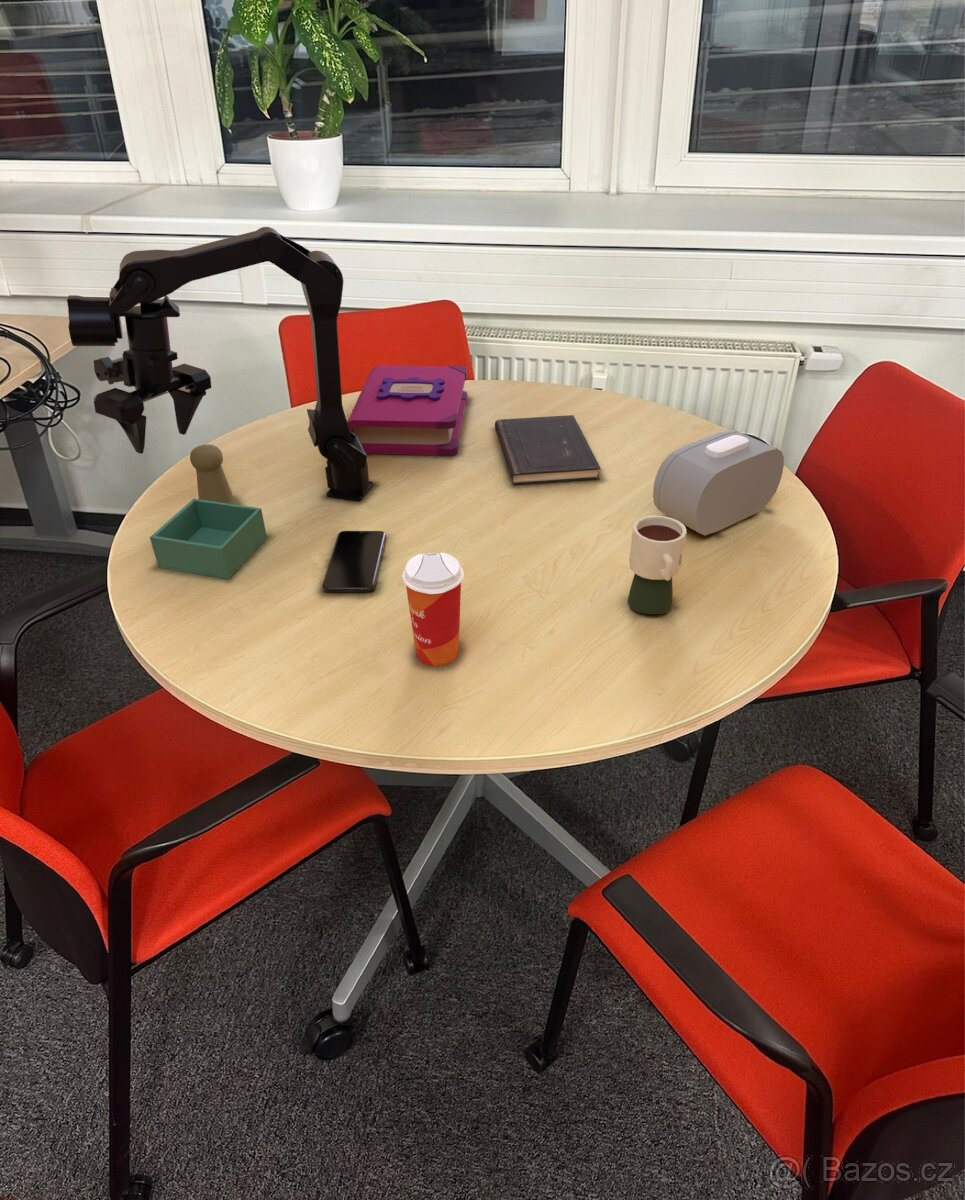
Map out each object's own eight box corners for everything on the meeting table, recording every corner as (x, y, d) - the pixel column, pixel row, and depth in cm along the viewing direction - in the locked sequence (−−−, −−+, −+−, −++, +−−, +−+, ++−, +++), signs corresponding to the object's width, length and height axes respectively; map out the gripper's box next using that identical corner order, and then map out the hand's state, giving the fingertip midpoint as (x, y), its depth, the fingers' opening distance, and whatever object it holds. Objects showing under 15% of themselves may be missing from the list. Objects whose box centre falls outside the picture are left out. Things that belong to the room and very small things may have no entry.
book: (347, 454, 158) (342, 416, 153) (372, 395, 180) (369, 361, 176) (456, 456, 157) (455, 419, 152) (468, 397, 179) (467, 363, 175)
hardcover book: (573, 425, 167) (573, 414, 166) (599, 479, 149) (600, 467, 148) (494, 430, 166) (494, 419, 164) (511, 485, 147) (511, 473, 146)
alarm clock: (730, 486, 146) (744, 415, 138) (774, 508, 140) (791, 435, 132) (647, 522, 137) (656, 448, 129) (690, 547, 131) (702, 471, 123)
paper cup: (408, 636, 114) (401, 551, 105) (464, 632, 114) (461, 547, 106) (409, 674, 107) (401, 586, 99) (468, 670, 108) (465, 583, 99)
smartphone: (374, 593, 122) (387, 534, 134) (374, 588, 121) (386, 530, 134) (321, 593, 122) (338, 534, 135) (320, 588, 121) (338, 529, 134)
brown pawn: (226, 516, 140) (212, 457, 133) (193, 513, 141) (178, 454, 134) (241, 499, 144) (229, 441, 138) (209, 496, 145) (196, 438, 139)
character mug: (686, 626, 115) (699, 547, 107) (636, 631, 114) (646, 552, 106) (660, 581, 123) (672, 506, 116) (614, 586, 123) (622, 510, 115)
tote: (267, 537, 134) (261, 508, 131) (228, 579, 125) (221, 548, 122) (200, 527, 137) (193, 498, 134) (158, 567, 128) (149, 537, 124)
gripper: (154, 319, 132) (165, 412, 141) (56, 347, 117) (76, 449, 126) (209, 335, 128) (217, 429, 137) (116, 366, 114) (131, 469, 123)
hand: (161, 443), depth 131 cm, fingers open, 9 cm apart
